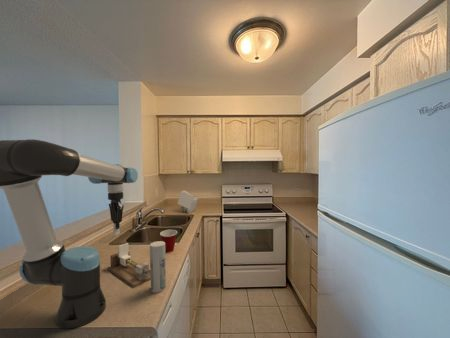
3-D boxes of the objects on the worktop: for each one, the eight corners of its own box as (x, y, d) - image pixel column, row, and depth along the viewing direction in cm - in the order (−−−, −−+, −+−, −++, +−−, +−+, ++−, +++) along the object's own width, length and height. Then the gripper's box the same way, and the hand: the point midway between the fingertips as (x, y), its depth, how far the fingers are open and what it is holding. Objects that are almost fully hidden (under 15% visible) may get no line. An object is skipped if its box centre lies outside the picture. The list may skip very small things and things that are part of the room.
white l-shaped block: (123, 266, 107) (122, 247, 107) (118, 263, 110) (118, 245, 110) (132, 263, 111) (132, 245, 111) (127, 260, 114) (127, 242, 114)
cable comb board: (134, 288, 93) (134, 272, 93) (107, 269, 110) (107, 256, 110) (158, 277, 102) (158, 262, 102) (129, 261, 120) (129, 248, 120)
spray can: (152, 284, 96) (152, 241, 95) (167, 284, 96) (166, 240, 96) (148, 293, 89) (147, 246, 89) (164, 292, 90) (163, 246, 89)
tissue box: (183, 207, 261) (188, 188, 258) (194, 212, 257) (200, 193, 254) (174, 211, 241) (181, 191, 238) (186, 216, 237) (193, 196, 234)
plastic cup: (159, 255, 128) (159, 235, 128) (160, 248, 138) (160, 230, 138) (178, 252, 131) (177, 233, 130) (177, 246, 141) (176, 228, 141)
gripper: (128, 192, 115) (129, 234, 115) (117, 190, 123) (118, 230, 123) (113, 193, 109) (115, 238, 109) (103, 192, 117) (104, 233, 118)
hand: (116, 234), depth 116 cm, fingers closed
